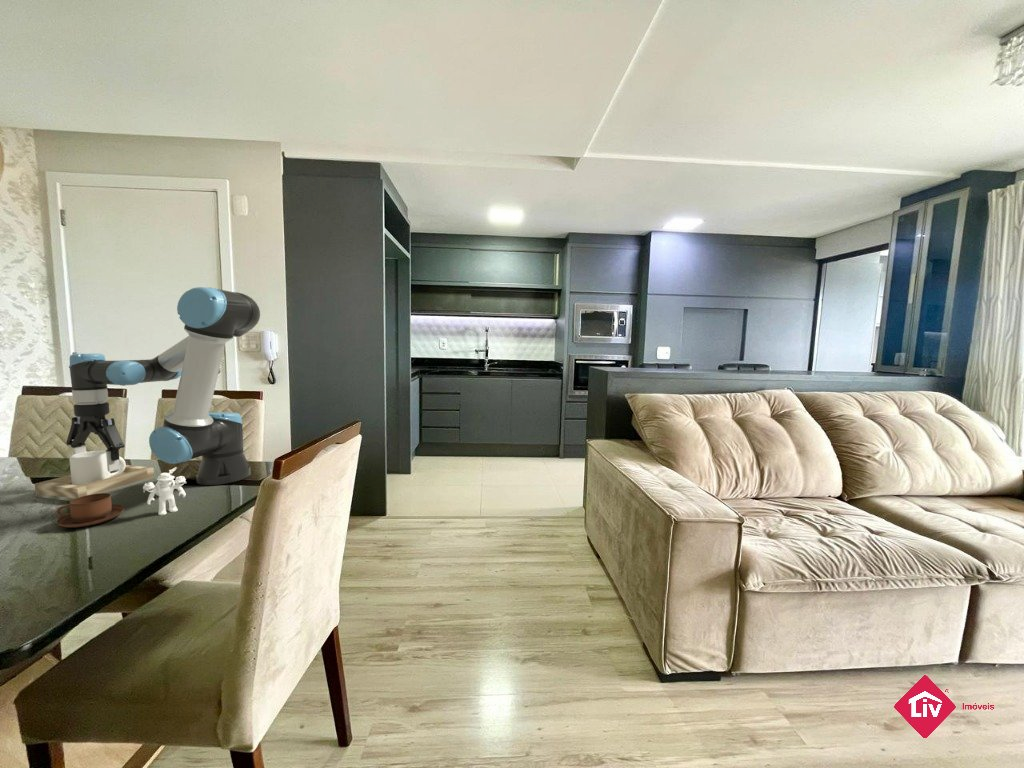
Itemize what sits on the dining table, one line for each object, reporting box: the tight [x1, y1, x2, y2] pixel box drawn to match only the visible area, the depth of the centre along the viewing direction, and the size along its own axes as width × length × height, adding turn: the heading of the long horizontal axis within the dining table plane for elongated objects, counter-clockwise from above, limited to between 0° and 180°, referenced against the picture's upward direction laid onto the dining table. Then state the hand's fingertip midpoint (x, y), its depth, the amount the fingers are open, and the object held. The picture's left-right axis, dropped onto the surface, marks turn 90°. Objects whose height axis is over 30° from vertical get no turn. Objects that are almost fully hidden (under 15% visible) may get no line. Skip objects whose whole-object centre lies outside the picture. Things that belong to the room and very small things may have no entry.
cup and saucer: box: [55, 493, 125, 528], centre depth 101 cm, size 12×12×6 cm
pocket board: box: [34, 464, 156, 502], centre depth 123 cm, size 17×20×4 cm
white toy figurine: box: [142, 466, 187, 516], centre depth 106 cm, size 9×4×12 cm, turn 144°
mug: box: [69, 450, 127, 486], centre depth 123 cm, size 12×8×10 cm
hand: (97, 468), depth 123 cm, fingers open, 13 cm apart
